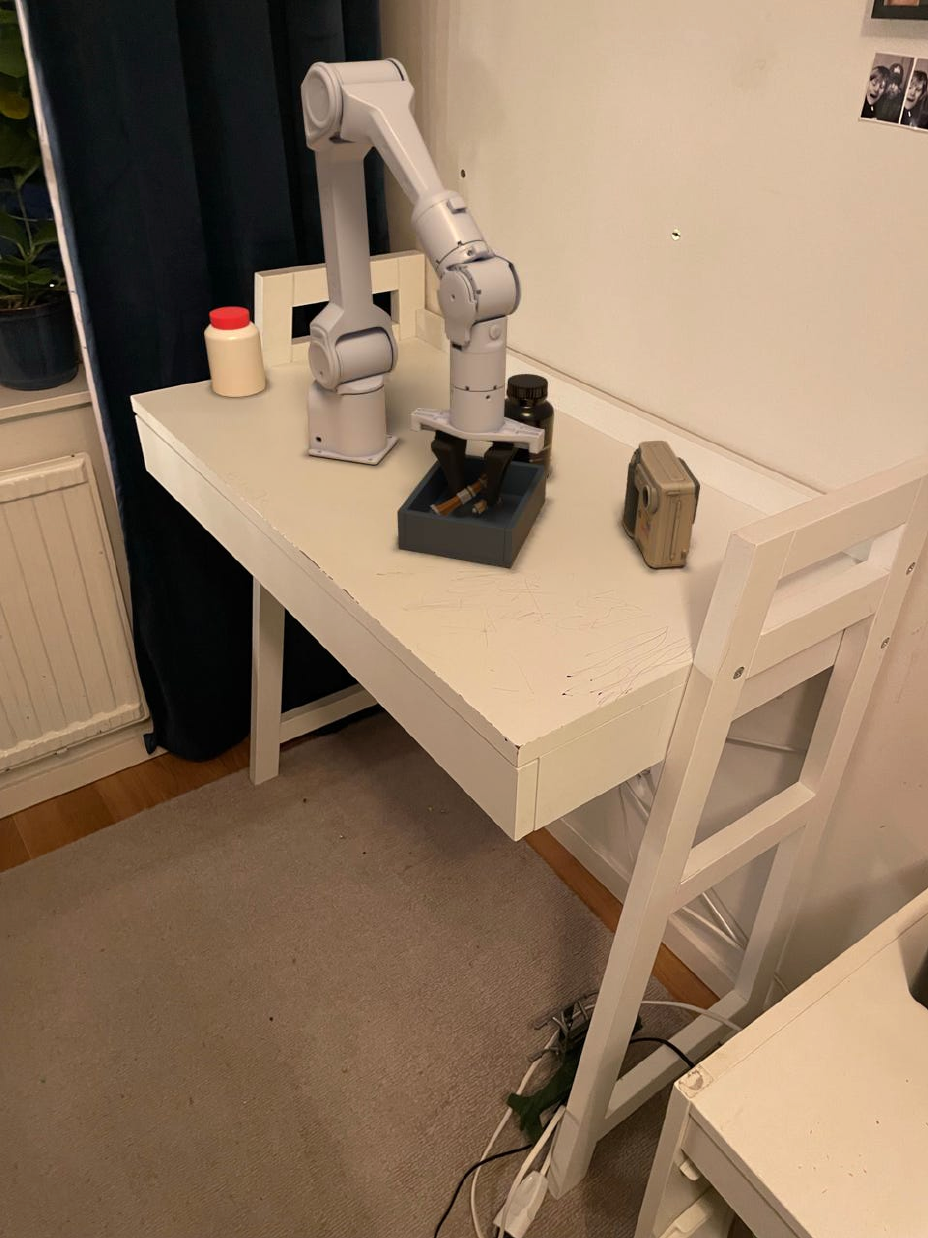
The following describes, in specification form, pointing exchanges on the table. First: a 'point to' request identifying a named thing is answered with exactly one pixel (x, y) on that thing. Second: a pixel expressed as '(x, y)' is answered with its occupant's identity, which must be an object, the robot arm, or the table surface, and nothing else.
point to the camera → (660, 504)
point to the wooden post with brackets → (465, 499)
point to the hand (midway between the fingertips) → (475, 499)
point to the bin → (473, 515)
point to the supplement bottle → (531, 413)
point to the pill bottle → (234, 353)
